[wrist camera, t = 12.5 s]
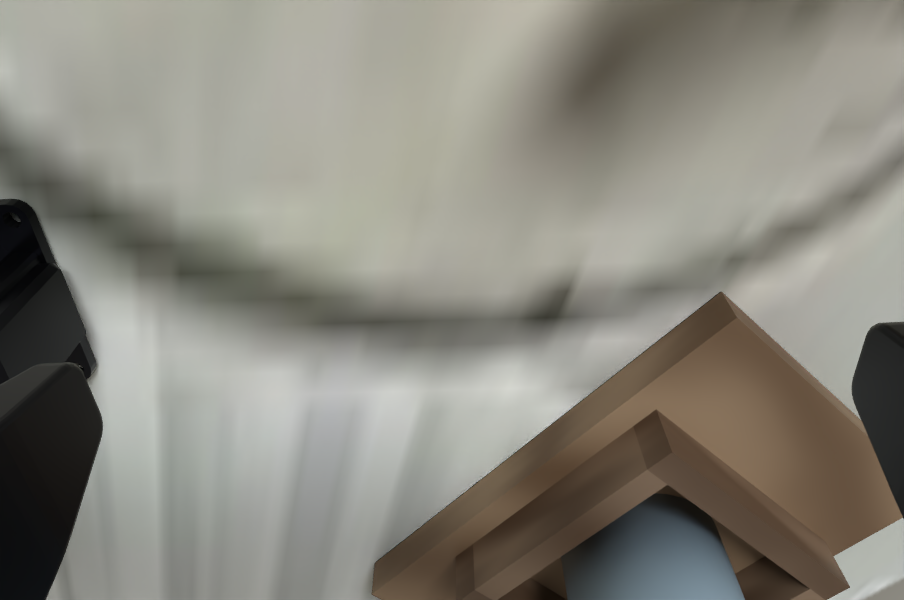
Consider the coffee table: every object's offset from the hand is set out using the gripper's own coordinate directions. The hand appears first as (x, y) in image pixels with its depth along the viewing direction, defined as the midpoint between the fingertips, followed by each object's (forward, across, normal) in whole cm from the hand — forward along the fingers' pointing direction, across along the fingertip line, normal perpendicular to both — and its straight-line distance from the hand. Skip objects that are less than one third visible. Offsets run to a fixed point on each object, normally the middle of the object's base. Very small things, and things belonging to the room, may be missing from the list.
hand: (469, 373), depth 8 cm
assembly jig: (+13, -6, +18) cm, 23 cm away
